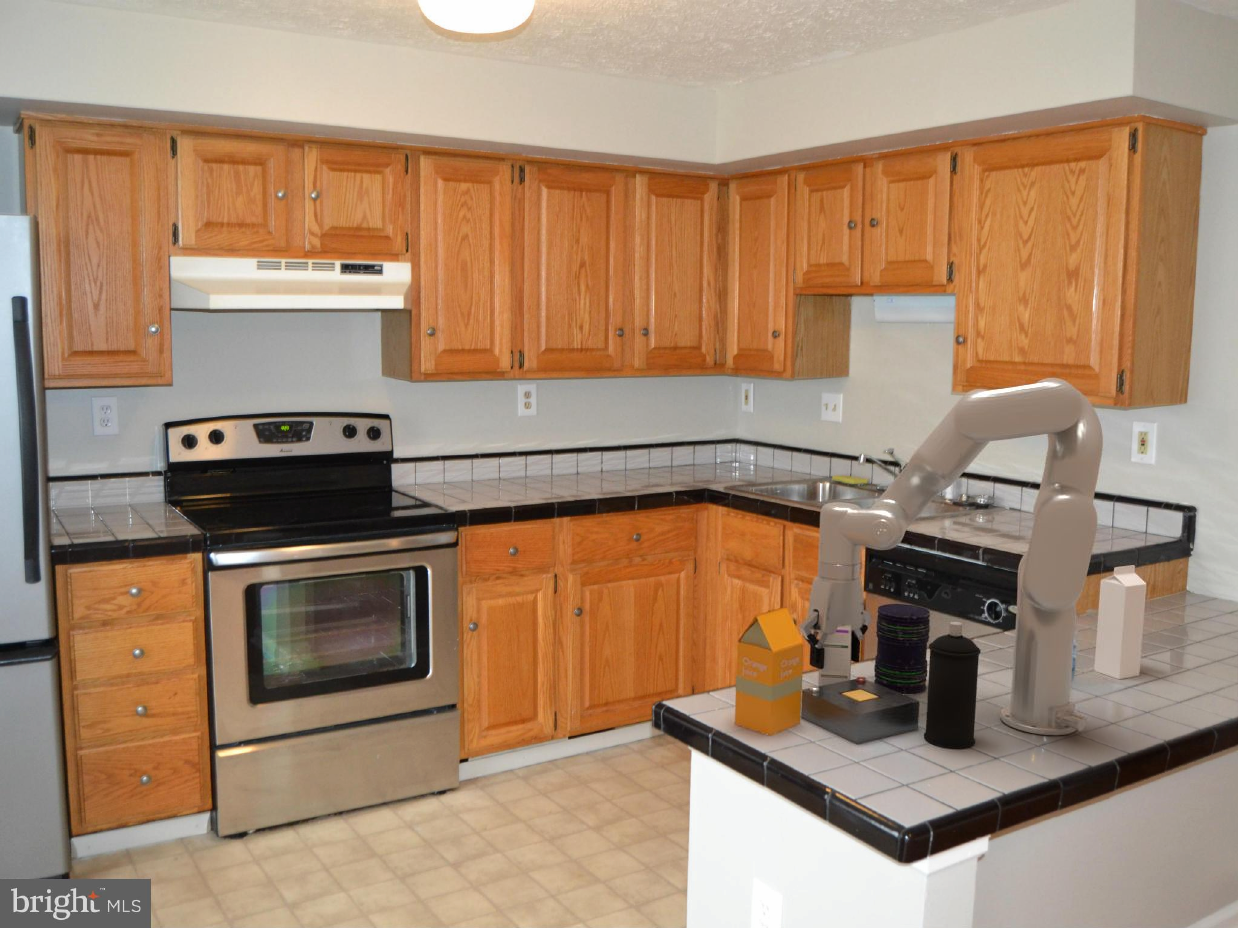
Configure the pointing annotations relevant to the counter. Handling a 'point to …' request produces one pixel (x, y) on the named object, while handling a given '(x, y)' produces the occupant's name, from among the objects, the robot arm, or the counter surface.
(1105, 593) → the milk
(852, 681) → the breaker box
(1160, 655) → the counter surface
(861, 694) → the button
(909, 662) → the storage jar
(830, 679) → the syrup box
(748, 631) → the orange juice
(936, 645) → the aerosol can
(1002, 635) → the counter surface
